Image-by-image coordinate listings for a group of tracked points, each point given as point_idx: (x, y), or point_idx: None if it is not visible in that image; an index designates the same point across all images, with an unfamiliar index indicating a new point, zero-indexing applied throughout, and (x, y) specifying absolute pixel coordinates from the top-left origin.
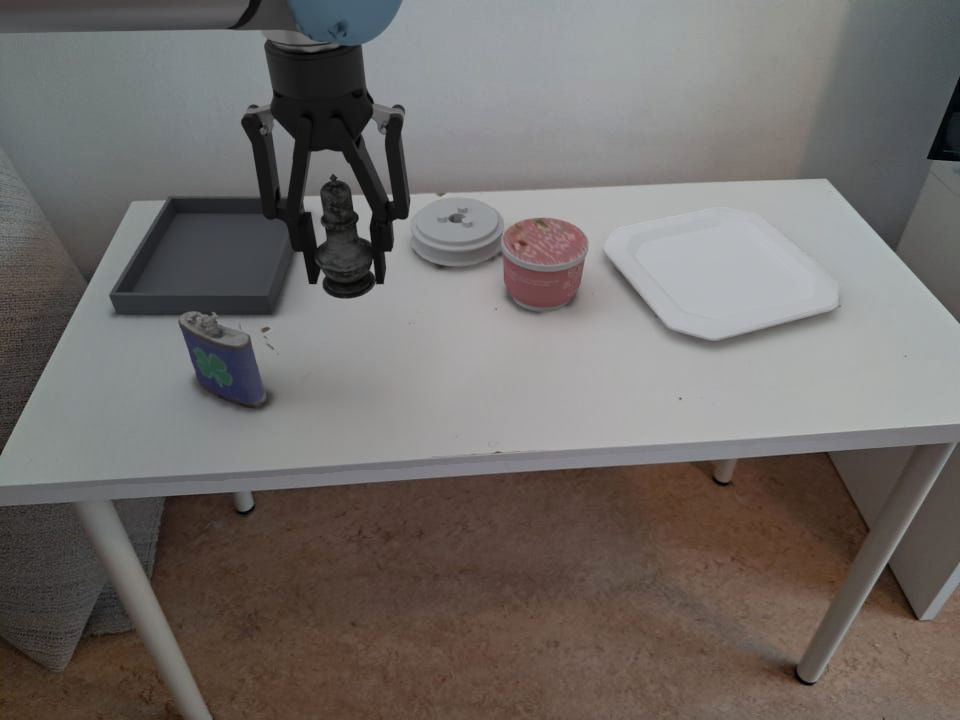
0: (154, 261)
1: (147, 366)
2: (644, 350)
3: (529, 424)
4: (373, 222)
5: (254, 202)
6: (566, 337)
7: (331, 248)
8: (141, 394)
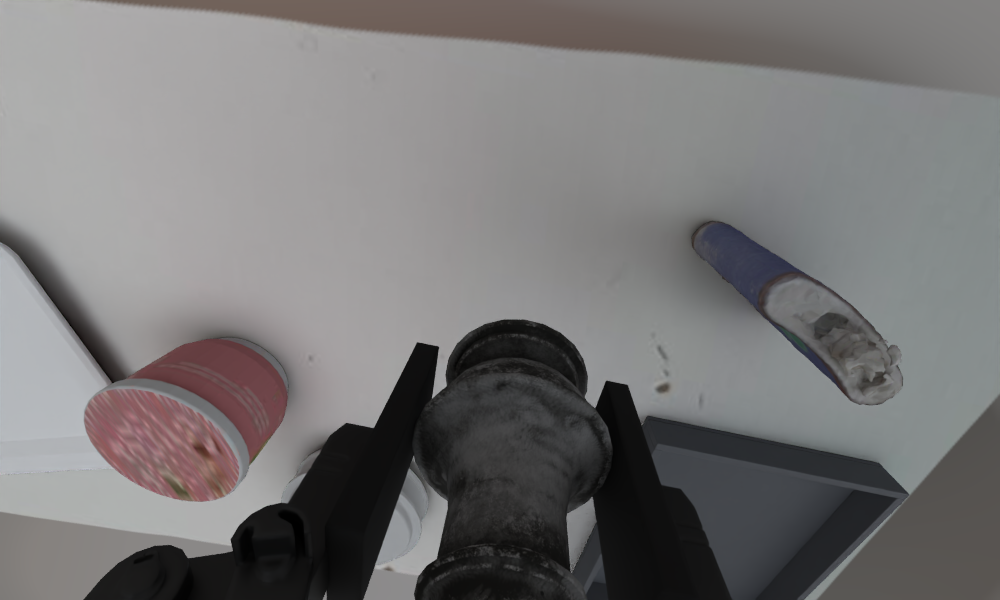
0: (797, 542)
1: None
2: (71, 225)
3: (245, 83)
4: (348, 557)
5: None
6: (199, 278)
7: (553, 472)
8: (895, 292)
